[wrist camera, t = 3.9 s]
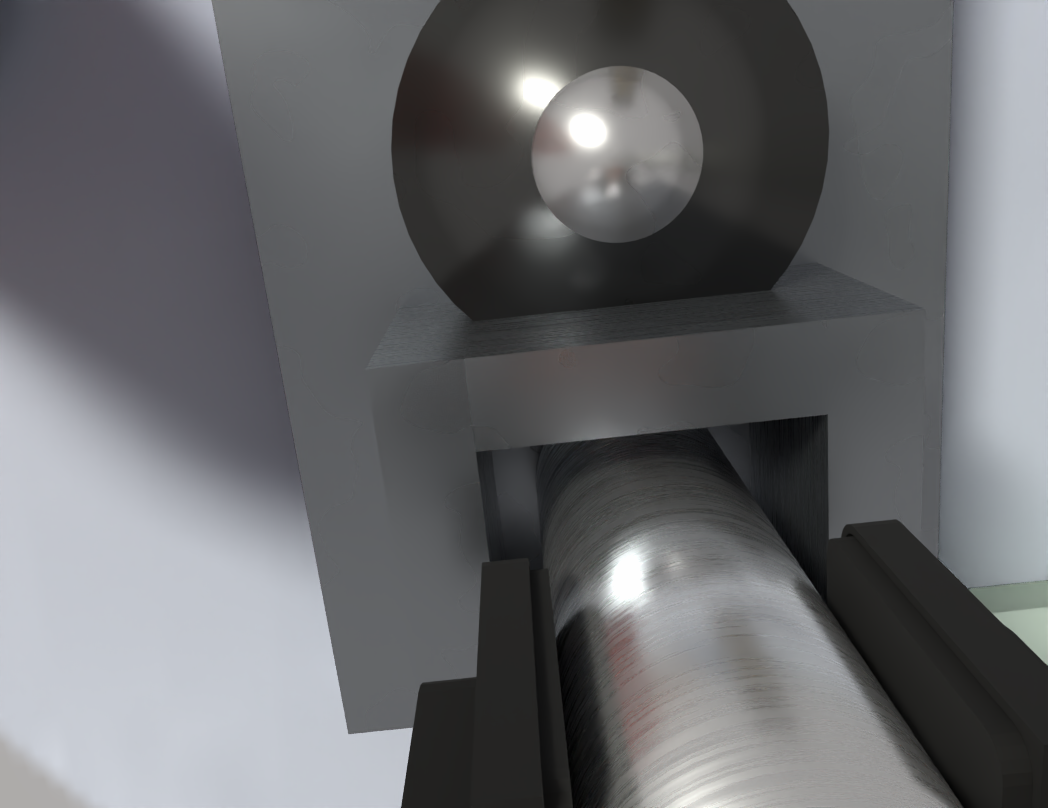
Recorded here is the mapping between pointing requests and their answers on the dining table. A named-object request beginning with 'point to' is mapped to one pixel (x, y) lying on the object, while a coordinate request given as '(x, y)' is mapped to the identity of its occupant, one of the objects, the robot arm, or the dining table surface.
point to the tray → (1020, 611)
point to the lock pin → (704, 644)
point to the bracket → (586, 274)
